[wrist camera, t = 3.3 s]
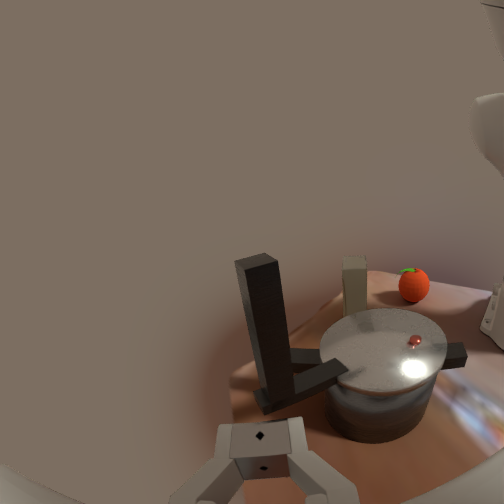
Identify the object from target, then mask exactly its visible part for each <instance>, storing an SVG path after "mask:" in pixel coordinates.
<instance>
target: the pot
mask: <svg viewBox="0 0 504 504" xmlns="http://www.w3.org/2000/svg"><path fill="white" fill-rule="evenodd" d="M290 353H291V361H292V370H293V373H302V372H304V371H307V370H309V369H311V368H313V367H316V366H318V365H320V364H321V361H320V349H299V348H290ZM467 357H468V356H467V353H466V351H465V348H464V346H463V343H462V342H460V343H451V344H447V353H446V357H445V361H444V364H443V366H442V368H441V370H444V369H452V368H460V367H464V366H465V363H466V360H467ZM436 377H437V375H436V376H435V377H434V378H433V379H432V380H431V381H430V382H428V383H427V384H425V385H424V386H422V387H420V388H418V389H416V390H413V391H411V392H408V393H404V394H400V395H394V396H370V395H365V394H360V393H357V392H354V391H351V390H348V389H346V388H344V387H342V386H341V385H339V384H335V385H333V386H331V387H329V388H327V389H325V390H324V392H325V414H326V417H327V420H328V422H329V423H330V425H331V426H332V427H333V428H334V429H335V430H336V431H337V432H338V433H339V434H341V435H342V436H344V437H346V438H348V439H350V440H353V441H357V442H361V443H370V444H376V443H384V442H389V441H392V440H396V439H398V438H400V437H402V436H404V435H406V434H407V433H409V432H410V431H411V430H413V429H414V428H415V427H416V426H417V425H418V423H419V422H420V421H421V419H422V417H423V415H424V413H425V410H426V408H427V405H428V402H429V399H430V396H431V393H432V390H433V387H434V384H435V381H436Z"/></svg>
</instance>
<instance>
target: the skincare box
mask: <svg viewBox="0 0 504 504" xmlns="http://www.w3.org/2000/svg"><path fill="white" fill-rule="evenodd" d="M342 282H343V318H344V317H346V316H348V315H351V314H354V313H357V312H360V311H365V310H366V309H367V261H366V256H348V257H347V256H344V257H343V263H342Z"/></svg>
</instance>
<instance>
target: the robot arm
mask: <svg viewBox="0 0 504 504" xmlns="http://www.w3.org/2000/svg"><path fill="white" fill-rule="evenodd" d="M480 2H481V5H482V8H483V10H484V13H485V16H486V18H487V21H488V24H489V27H490V30H491V33H492V37H493V40H494V43H495V47H496V49H497V51H498V53H499V55H500V56H501V58H502V59H503V60H504V0H480ZM468 122H469V130H470V134H471V137H472V139H473V142H474V144H475V146H476V147H477V149H478V150H479V152H480V153H481V154H482V155H483V156H484V157H485V158H486V159H487V160H488V161H489V162H490V163H492V164H493V166H495V168H496V169H497V170H498V171H499V173H500V174H501V176H502V177H503V179H504V93H496V94H491V95H486V96H482V97H478V98H476V99H475V100H474V101H473V103H472V105H471V107H470V111H469V119H468ZM480 330H481V331H482V332H483V333H485V334H487V335H488V336H490V337H491V338H492V339H493V340H494V342H495V343H496V344H497V345H498V346H499V347H500V348H502V349H503V350H504V277H503V281H502V284H498V283H495V284H494V288H493V293H492V296H491V299H490V302H489V304H488V307H487V310H486V312H485V315H484V318H483V320H482V323H481V325H480ZM281 477H290V478H291V479H292V480H293V481H294V482H295V483H296V484H297V485H298V486H299V487H300V488H301V489H302V490H303V491H304V493H305V494H306V495H307V496H308V497H307V498H306V499H305V504H360V501H359V497H358V493H357V489H356V485H355V484H353V483H352V482H351V481H349V480H348V479H347V478H345V477H344V476H343V475H341V474H340V473H339V472H338V471H336V470H335V469H334V468H333V467H331V466H330V465H329V464H328V463H326V462H325V461H324V460H323V459H322V458H320V457H319V456H318V455H317V454H316V453H314V452H313V451H308V448H307V442H306V436H305V430H304V424H303V418H302V416H301V417H295V418H288V419H287V418H286V419H279V420H271V421H263V422H257V423H238V424H220V425H219V427H218V431H217V439H216V446H215V454H214V459H209V460H208V461H207V462H206V463H205V464H204V465H203V466H202V467H201V468H200V469H199V470H198V471H197V472H196V473H195V474H194V475H193V476H192V477H191V478H190V479H189V480H188V481H187V482H186V483H184V485H182V486H181V487H180V488H179V489H178V490H177V491H176V492H175V493H174V494H173V495H171V496H170V500H169V504H228V502H229V501H230V500H231V498H232V497H233V496H234V495H235V493H236V492H237V491H238V489H239V488H240V487H241V485H242V484H243V483H244V480H256V479H267V478H281ZM0 504H84V503H81V502H79V501H77V500H74V499H72V498H69V497H67V496H64V495H62V494H60V493H58V492H56V491H54V490H51V489H49V488H47V487H45V486H43V485H41V484H39V483H37V482H36V481H34V480H32V479H30V478H28V477H26V476H25V475H23V474H21V473H20V472H18V471H16V470H15V469H13V468H11V467H10V466H8V465H6V464H0ZM400 504H504V447H503V448H502V449H501V450H499V451H498V452H496V453H495V454H494V455H492V456H491V457H489V458H488V459H486V460H485V461H483V462H482V463H480V464H478V465H477V466H475V467H474V468H472V469H470V470H469V471H467V472H465V473H464V474H462V475H460V476H458V477H456V478H455V479H453V480H451V481H449V482H447V483H445V484H443V485H441V486H439V487H437V488H435V489H433V490H431V491H429V492H426V493H424V494H422V495H420V496H417V497H415V498H413V499H410V500H408V501H405V502H403V503H400Z"/></svg>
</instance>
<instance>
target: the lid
mask: <svg viewBox="0 0 504 504" xmlns="http://www.w3.org/2000/svg"><path fill="white" fill-rule="evenodd" d="M234 262H235V266H236V271H237V277H238V282H239V287H240V292H241V296H242V302H243V306H244V311H245V316H246V321H247V326H248V330H249V335H250V340H251V344H252V349H253V354H254V359H255V363H256V368H257V372H258V377H259V381H260V386H261V389H258V390H256V391H253V393H254V397H255V400H256V402H257V404H258V405H259V407H260V409H261V411H262V412H263V414H264V415H267V414H269V413H272V412H275V411H277V410H280V409H282V408H285V407H287V406H290V405H292V404H294V403H297V402H299V401H301V400H304V399H306V398H308V397H310V396H312V395H315V394H317V393H319V392H321V391H323V390H325V389H327V388H329V387H331V386H333V385H335V384H339V385H341V386H342V387H344V388H346V389H348V390H351V391H354V392H357V393H360V394H365V395H370V396H394V395H400V394H404V393H408V392H411V391H413V390H416V389H418V388H420V387H422V386H424V385H425V384H427V383H428V382H430V381H431V380H432V379H433V378H434V377H435V376H436V375H437V374H438V372H439V371H440V370H441V368H442V366H443V364H444V361H445V357H446V353H447V339H446V336H445V334H444V332H443V331H442V329H441V328H440V327H439V326H438V325H437V324H436V323H435V322H434V321H432V320H431V319H429V318H427V317H426V316H423V315H421V314H419V313H416V312H412V311H408V310H403V309H395V308H379V309H370V310H365V311H360V312H357V313H354V314H351V315H348V316H346V317H344V318H342V319H340V320H339V321H337V322H335V323H334V324H333V325H332V326H330V327H329V328H328V329H327V331H326V332H325V333H324V335H323V337H322V339H321V342H320V361H321V364H320V365H318V366H316V367H313V368H311V369H309V370H307V371H304V372H302V373H300V374H297V375H295V376H293V370H292V361H291V353H290V345H289V338H288V330H287V323H286V315H285V307H284V300H283V293H282V286H281V279H280V272H279V266H278V261H277V260H276V259H274V258H272V257H271V256H269V255H268V254H266V253H262V254H258V255H255V256H251V257H247V258H243V259H240V260H236V261H234Z"/></svg>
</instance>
